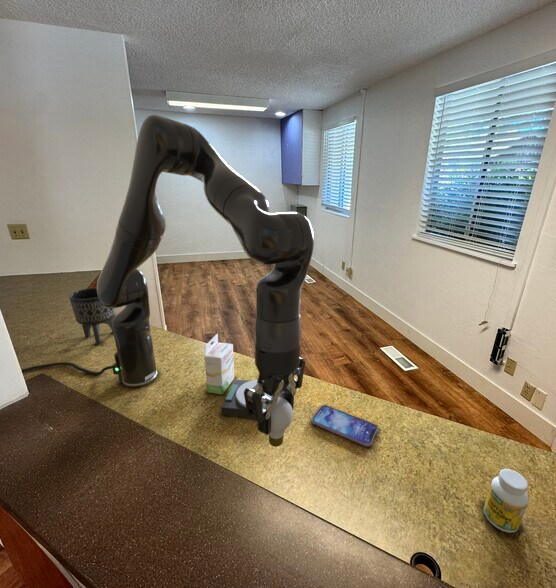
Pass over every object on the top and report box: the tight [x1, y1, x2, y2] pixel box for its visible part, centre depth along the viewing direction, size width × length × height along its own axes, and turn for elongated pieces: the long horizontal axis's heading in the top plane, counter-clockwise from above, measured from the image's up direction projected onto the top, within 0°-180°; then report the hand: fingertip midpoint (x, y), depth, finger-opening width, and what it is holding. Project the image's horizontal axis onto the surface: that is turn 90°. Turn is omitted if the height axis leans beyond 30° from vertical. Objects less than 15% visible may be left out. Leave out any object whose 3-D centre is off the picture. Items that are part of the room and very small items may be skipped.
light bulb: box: [262, 396, 294, 448], centre depth 55 cm, size 6×6×10 cm
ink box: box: [204, 333, 235, 395], centre depth 86 cm, size 9×5×15 cm, turn 168°
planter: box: [68, 287, 116, 346], centre depth 111 cm, size 13×13×18 cm
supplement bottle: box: [483, 468, 529, 533], centre depth 53 cm, size 5×5×10 cm
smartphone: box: [311, 404, 378, 447], centre depth 75 cm, size 7×1×15 cm
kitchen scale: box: [220, 378, 283, 418], centre depth 82 cm, size 14×12×3 cm
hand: (276, 420), depth 55 cm, fingers closed on light bulb, 6 cm apart
